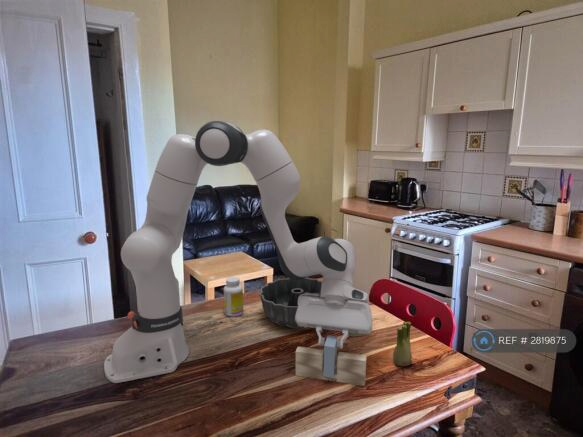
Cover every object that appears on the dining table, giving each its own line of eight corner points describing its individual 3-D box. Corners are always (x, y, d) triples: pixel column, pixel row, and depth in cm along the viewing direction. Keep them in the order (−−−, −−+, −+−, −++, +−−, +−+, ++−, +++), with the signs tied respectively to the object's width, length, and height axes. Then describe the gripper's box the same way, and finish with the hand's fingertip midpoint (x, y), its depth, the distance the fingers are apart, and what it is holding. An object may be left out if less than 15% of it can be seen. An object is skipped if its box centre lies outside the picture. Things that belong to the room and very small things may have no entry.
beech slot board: (365, 380, 98) (366, 355, 96) (364, 386, 95) (365, 361, 94) (297, 369, 102) (297, 346, 100) (295, 375, 99) (295, 351, 98)
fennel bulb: (397, 370, 102) (399, 329, 99) (387, 360, 106) (390, 320, 104) (415, 366, 103) (418, 326, 101) (405, 356, 108) (408, 318, 106)
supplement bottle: (246, 311, 137) (246, 277, 134) (236, 318, 131) (235, 283, 128) (231, 307, 140) (230, 274, 137) (220, 315, 134) (219, 280, 131)
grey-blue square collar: (333, 377, 95) (334, 347, 93) (323, 376, 96) (324, 345, 94) (336, 365, 100) (337, 336, 99) (326, 363, 101) (327, 334, 99)
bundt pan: (249, 330, 123) (248, 302, 121) (271, 298, 148) (270, 274, 146) (330, 340, 117) (330, 310, 115) (338, 304, 142) (339, 279, 140)
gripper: (297, 287, 103) (288, 337, 96) (373, 294, 98) (370, 348, 91) (301, 296, 108) (292, 344, 101) (373, 303, 103) (370, 355, 96)
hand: (330, 346), depth 96 cm, fingers open, 3 cm apart
